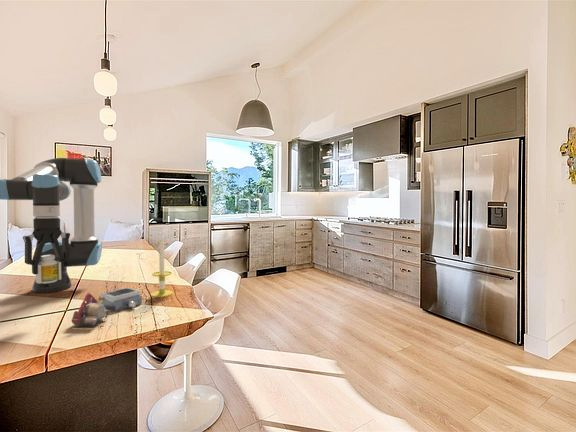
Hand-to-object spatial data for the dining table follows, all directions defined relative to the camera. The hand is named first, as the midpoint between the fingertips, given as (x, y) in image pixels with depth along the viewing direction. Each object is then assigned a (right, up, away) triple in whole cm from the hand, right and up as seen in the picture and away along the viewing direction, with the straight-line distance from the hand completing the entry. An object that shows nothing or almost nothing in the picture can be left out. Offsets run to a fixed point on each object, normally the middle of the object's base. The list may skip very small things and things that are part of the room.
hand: (48, 280), depth 109 cm
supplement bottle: (0, -1, 0) cm, 1 cm away
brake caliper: (+17, -15, -3) cm, 23 cm away
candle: (+28, -14, +33) cm, 45 cm away
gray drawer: (+18, -14, +16) cm, 28 cm away
